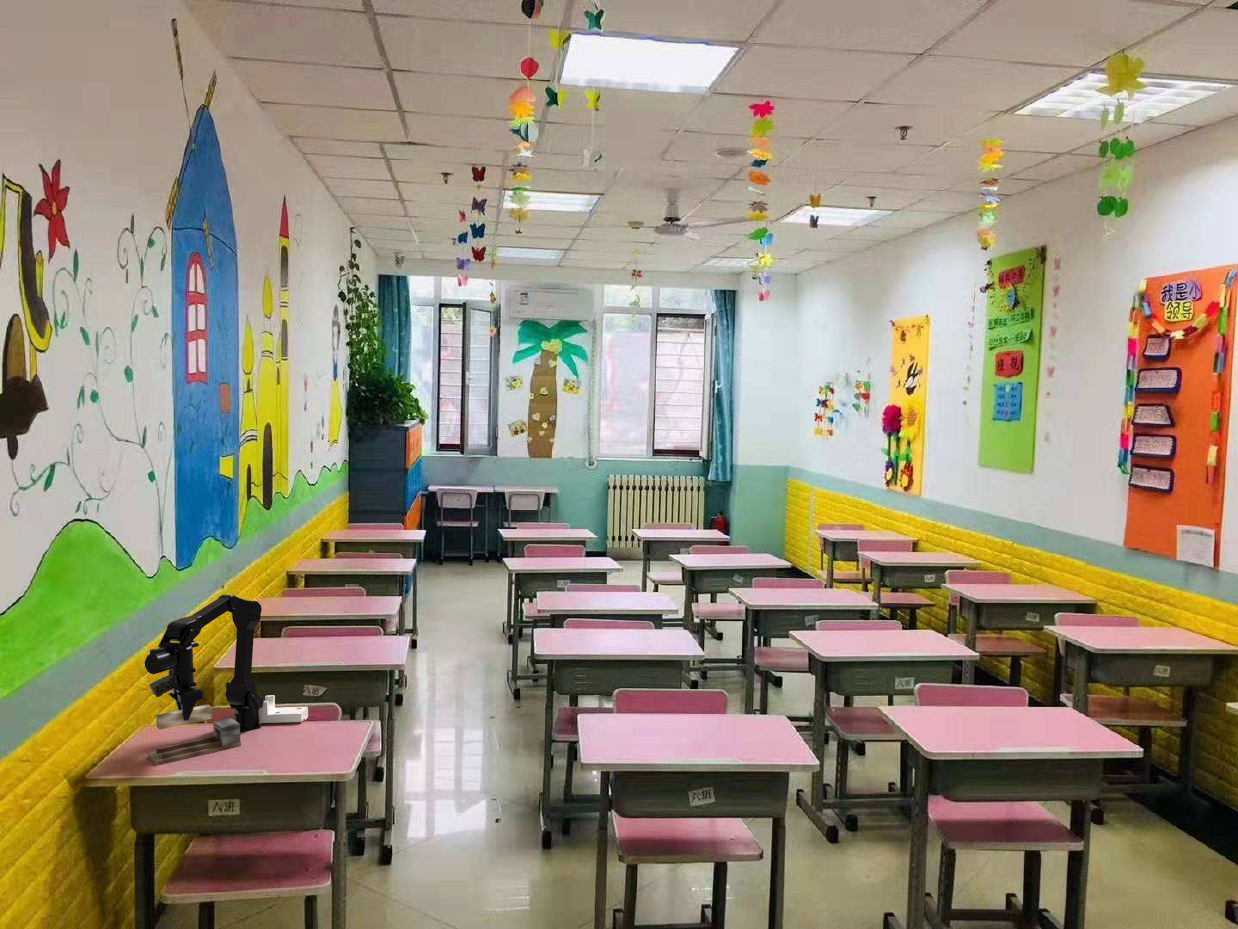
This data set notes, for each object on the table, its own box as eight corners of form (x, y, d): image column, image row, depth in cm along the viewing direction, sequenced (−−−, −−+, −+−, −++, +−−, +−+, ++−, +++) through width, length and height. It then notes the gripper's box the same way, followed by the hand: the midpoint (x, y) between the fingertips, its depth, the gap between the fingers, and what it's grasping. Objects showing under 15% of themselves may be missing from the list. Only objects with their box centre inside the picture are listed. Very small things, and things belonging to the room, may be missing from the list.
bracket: (259, 726, 292) (258, 702, 292) (267, 718, 299) (266, 695, 299) (301, 724, 293) (300, 701, 292) (308, 717, 300) (307, 694, 299)
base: (231, 738, 280) (230, 717, 280) (241, 745, 273) (240, 724, 273) (147, 757, 265) (146, 734, 265) (156, 765, 258) (155, 742, 258)
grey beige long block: (208, 716, 273) (207, 704, 273) (211, 718, 271) (211, 706, 270) (156, 727, 264) (156, 715, 264) (159, 729, 262) (159, 717, 261)
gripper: (143, 664, 268) (145, 717, 269) (160, 677, 254) (163, 733, 255) (184, 657, 276) (186, 709, 276) (203, 669, 261) (205, 724, 262)
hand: (184, 719), depth 267 cm, fingers closed on grey beige long block, 3 cm apart
